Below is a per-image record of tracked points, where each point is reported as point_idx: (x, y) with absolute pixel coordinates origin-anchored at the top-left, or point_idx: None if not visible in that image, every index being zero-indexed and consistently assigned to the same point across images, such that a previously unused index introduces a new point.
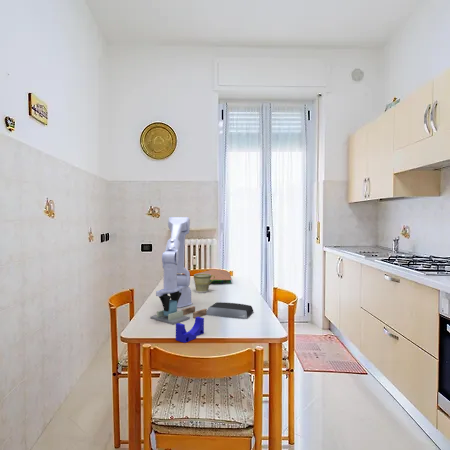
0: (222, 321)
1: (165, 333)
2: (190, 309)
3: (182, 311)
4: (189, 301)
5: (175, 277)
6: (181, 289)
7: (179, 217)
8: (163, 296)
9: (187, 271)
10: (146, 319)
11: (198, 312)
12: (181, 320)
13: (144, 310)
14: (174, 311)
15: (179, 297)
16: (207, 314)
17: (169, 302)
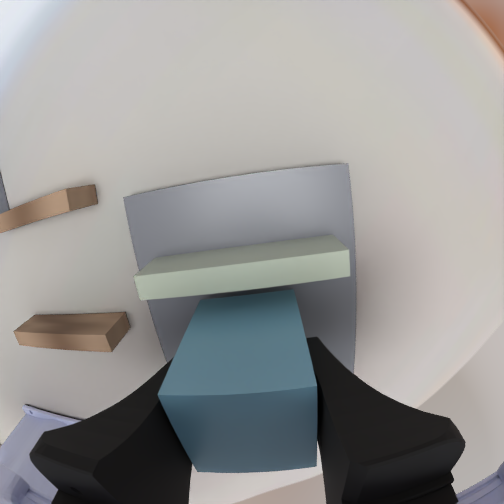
0: (39, 31)
1: (471, 71)
2: (48, 326)
3: (146, 272)
4: (28, 422)
5: None
6: (13, 493)
7: None
8: (445, 477)
9: None
10: None
11: (36, 200)
12: (233, 176)
13: (262, 489)
14: (229, 314)
15: (90, 420)
16: (5, 202)
17: (315, 400)
